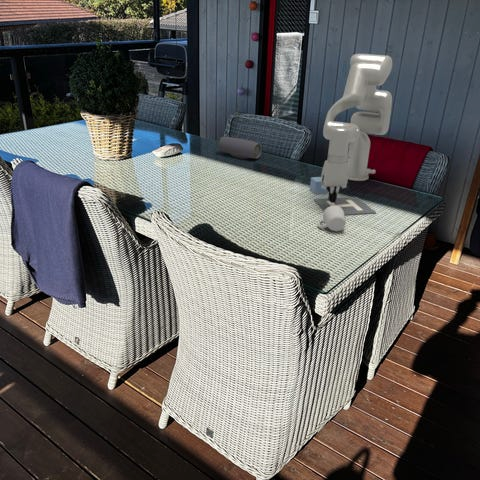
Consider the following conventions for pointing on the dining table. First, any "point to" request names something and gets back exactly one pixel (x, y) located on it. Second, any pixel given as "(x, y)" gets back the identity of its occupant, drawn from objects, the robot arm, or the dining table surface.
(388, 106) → the robot arm
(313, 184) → the cube
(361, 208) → the letter mat
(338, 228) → the cup
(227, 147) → the bluetooth speaker
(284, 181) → the dining table surface
